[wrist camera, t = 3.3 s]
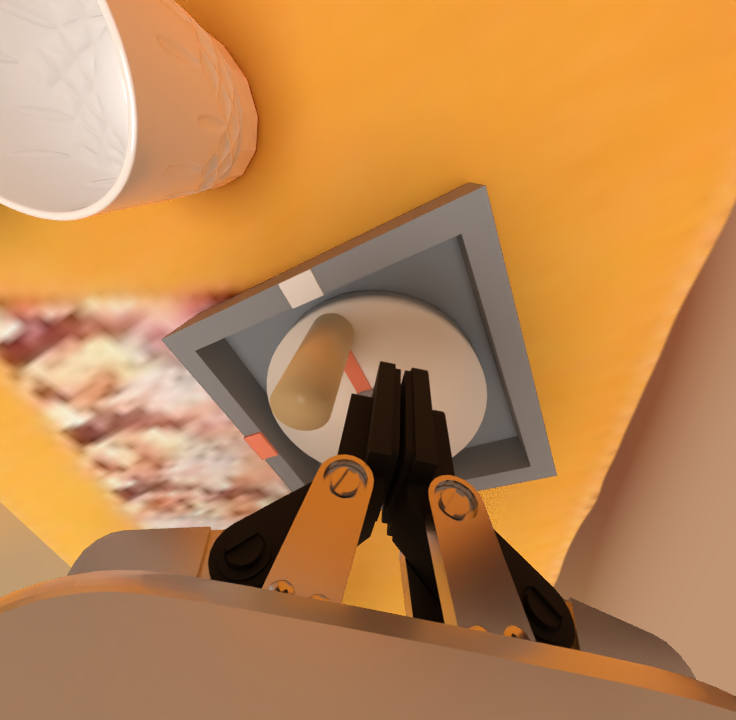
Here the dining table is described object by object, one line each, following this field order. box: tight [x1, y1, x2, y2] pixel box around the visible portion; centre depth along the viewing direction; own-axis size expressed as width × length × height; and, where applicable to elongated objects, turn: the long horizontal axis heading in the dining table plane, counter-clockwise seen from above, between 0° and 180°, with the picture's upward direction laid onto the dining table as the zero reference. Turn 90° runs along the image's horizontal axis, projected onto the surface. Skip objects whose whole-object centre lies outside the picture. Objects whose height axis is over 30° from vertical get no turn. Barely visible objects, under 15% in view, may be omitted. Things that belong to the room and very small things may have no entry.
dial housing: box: [161, 183, 557, 510], centre depth 22 cm, size 20×20×4 cm
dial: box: [267, 290, 487, 463], centre depth 19 cm, size 15×15×9 cm
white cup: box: [0, 0, 258, 221], centre depth 12 cm, size 8×8×10 cm
